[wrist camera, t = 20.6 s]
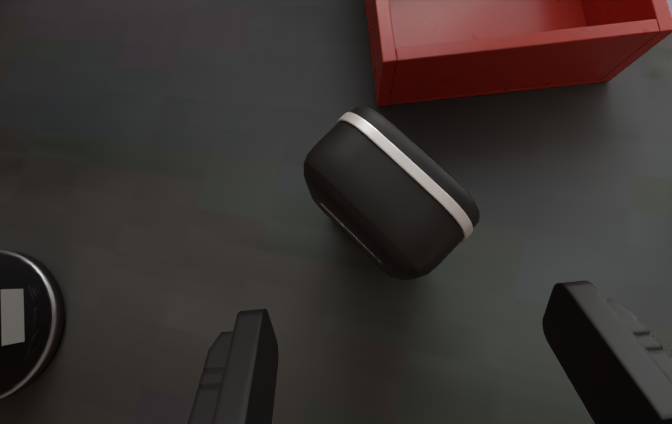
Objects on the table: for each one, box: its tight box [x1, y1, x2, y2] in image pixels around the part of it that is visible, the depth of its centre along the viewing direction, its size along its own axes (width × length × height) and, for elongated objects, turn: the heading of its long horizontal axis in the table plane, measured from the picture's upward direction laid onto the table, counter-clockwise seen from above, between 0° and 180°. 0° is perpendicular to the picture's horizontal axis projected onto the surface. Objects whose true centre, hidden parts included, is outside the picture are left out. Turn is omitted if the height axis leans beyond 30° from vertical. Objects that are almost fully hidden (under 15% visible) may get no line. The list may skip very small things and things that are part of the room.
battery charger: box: [304, 106, 479, 280], centre depth 18 cm, size 7×4×11 cm, turn 45°
